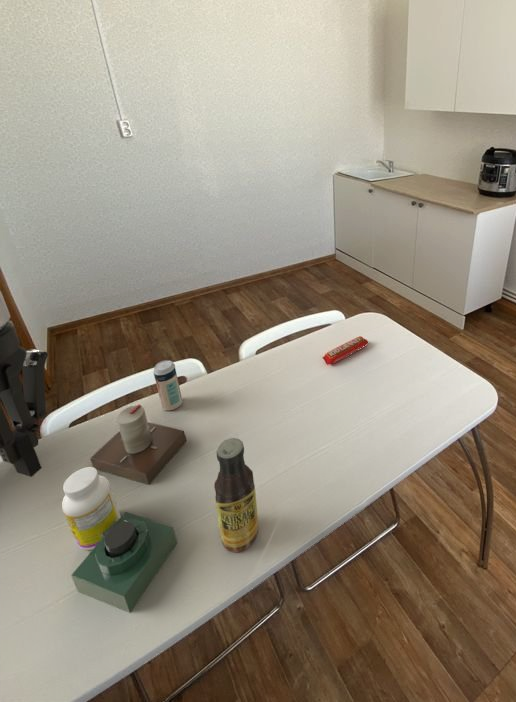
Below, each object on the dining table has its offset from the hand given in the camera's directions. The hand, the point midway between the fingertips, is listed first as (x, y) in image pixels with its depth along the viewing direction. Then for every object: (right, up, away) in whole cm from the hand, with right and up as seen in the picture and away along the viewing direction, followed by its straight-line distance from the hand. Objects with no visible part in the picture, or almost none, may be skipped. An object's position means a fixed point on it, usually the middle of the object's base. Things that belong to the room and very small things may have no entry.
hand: (29, 470), depth 55 cm
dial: (+1, -9, +26) cm, 27 cm away
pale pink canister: (+1, -7, +40) cm, 41 cm away
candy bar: (+44, 0, +59) cm, 74 cm away
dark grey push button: (+11, -14, +5) cm, 18 cm away
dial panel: (+1, -12, +27) cm, 29 cm away
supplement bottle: (+2, -18, +12) cm, 22 cm away
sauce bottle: (+28, -18, +11) cm, 35 cm away
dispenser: (+11, -20, +7) cm, 23 cm away
